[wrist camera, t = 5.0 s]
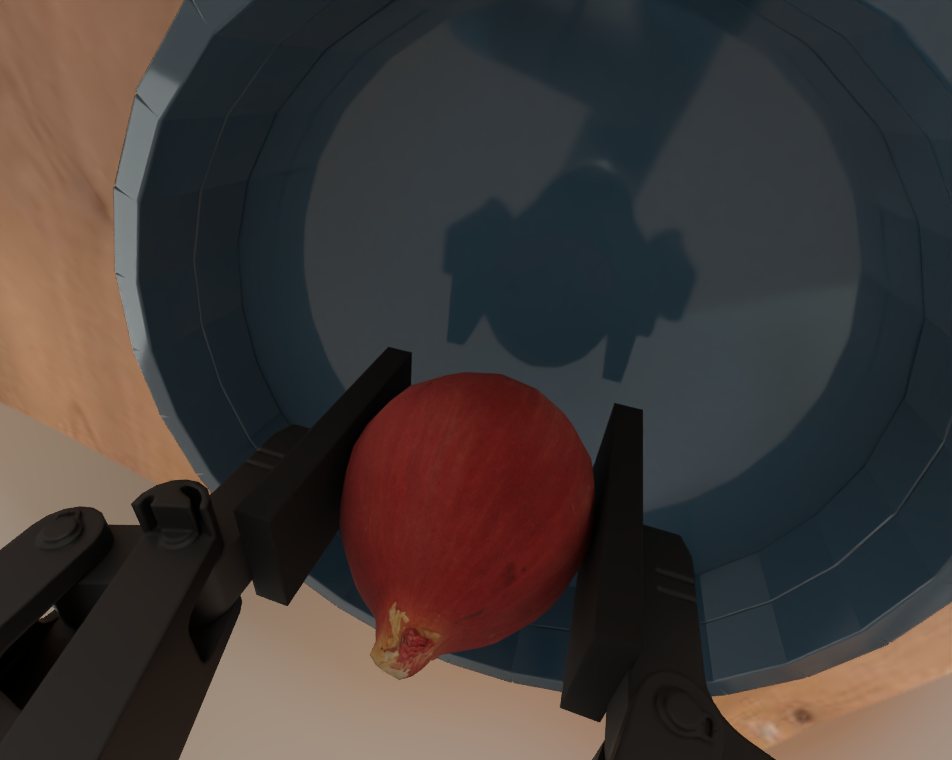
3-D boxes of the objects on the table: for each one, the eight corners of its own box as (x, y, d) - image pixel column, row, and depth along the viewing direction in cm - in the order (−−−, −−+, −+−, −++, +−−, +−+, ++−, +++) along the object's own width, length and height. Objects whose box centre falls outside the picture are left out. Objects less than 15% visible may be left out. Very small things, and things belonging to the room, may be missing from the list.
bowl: (301, -326, 10) (98, -577, 6) (1250, 261, 10) (1596, 358, 7) (199, 419, 23) (117, 481, 20) (608, 657, 24) (603, 761, 20)
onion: (602, 490, 15) (572, 810, 8) (432, 470, 17) (298, 721, 10) (608, 320, 12) (567, 608, 5) (400, 317, 14) (182, 532, 7)
